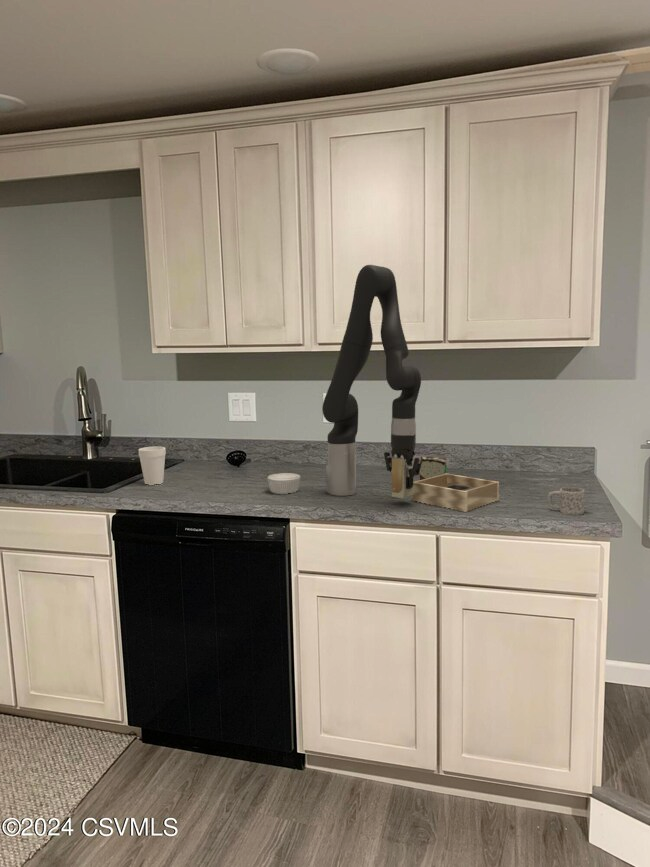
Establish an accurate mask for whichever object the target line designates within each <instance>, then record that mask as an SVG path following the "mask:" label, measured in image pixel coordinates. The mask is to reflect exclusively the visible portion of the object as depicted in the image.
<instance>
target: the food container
mask: <svg viewBox="0 0 650 867" xmlns="http://www.w3.org/2000/svg"><path fill="white" fill-rule="evenodd" d="M417 456H418V457H422V458H423V460H422V464H421V468H420V472H419V475H418V481H419V480H423V479H427V478H431V477H435V476H438V475H442V474H446V473H447V474H448V472H447V470H448V466H449V465H450V461H449V458H448V457H447V456H443V455H436V454H434V455H433V454H426V455H425V454H424V455H417Z"/></svg>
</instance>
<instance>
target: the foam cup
mask: <svg viewBox="0 0 650 867" xmlns="http://www.w3.org/2000/svg"><path fill="white" fill-rule="evenodd" d="M166 455H167V451H166V447H164V446H155V445H154V446H145V447H140V448H138V457H139V461H140V466H141V471H142V476H143V481H144V485H145V484H149V485H154V484H161V483H164V475H165V465H166V464H165V461H166ZM161 485H162V484H161Z"/></svg>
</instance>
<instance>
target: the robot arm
mask: <svg viewBox="0 0 650 867" xmlns="http://www.w3.org/2000/svg"><path fill="white" fill-rule="evenodd" d="M352 297H353V298H352V302H351V307H350V312H349V317H348V321H347V325H346V329H345V331H344V335H343V339H342V343H341V345H340V349H339V354H338V357H337V361H336V363H335V364H336V365H335V368H334V372H333V375H332V378H331V382H330V383H329V386H328V389H327V392H326V394H325V397H324V399H323V403H322V407H321V408H322V410H321V412H322V415H323V417H324V419H325V420H326V421H327V422H328V423H330V424H331V423H332V424H333V427H332V429H331V430H330V431H329V433H327V463H326V465H325V471H326V472H325V475H326V476H325V478H326V479H325V480H326V481H325V482H326V493H328V494H329V495H331V496H335V497H336V496H337V497H343V496H345V497H346V496H352V495H355V494H356V493H357V465H356V464H357V457H356V454H357V452H356V449H357V448H356V438H357V437H356V436H357V434H358V431H359V430H358V429H359V404H358V402H357V399H356V397H355V396H354V395H353V394H351V393H350V391H351V388H352V385H353V383H354V382H355V380H356V378H357V377H358V375H359V374H360V373H361V371H362V369H363V368H364V366H365V365H366V364H367V362H368V358H369V355H370V352H371V349H372V346H373V345H372V344H373V340H374V339H373V338H374V336H373V328H372V323H371V312H372V307H373V303H374V299H375V298H377V299H378V301H379V305H380V307H381V314H382V315H381V316H382V318H381V325H380V339H381V343H382V348H383V352H384V356H385V376H386V378H385V379H386V382H387V385H389V387H390V389H392V390H393V391H400V395H399V396H398V397H396V398H394V399H393V400H392V403H391V423H390V447H391V450H390V451H385V452H383V455H384V456H383V457H384V461H385V467H386V471H388V472H391V474H392V458H401V459H406V462H405V470H406V475H407V477H406V489H411V488H412V487H413V482H414V481H413V477H415V476H419V472H420V468H421V464H422V460H423V458H422V457H418V456H419V455H416V452H415V448H416V442H417V441H416V439H417V438H416V436H417V435H416V434H417V432H416V431H417V424H416V423H417V422H416V404H417V402H418V397H419V393H420V391H421V390H420V388H421V384H422V375H421V373H420V371H419V369H418V368H417V367H416V366H410V365H409V366H407V365H406V366H403V360H405V359H407V358H408V356H409V354H410V352H409V348H408V344H407V340H406V337H405V334H404V330H403V326H402V325H403V324H402V320H401V315H400V306H399V299H398V289H397V282H396V276H395V274H394V272H393V271H392V270H391V269H390V268H388V267H385V266H379V265H374V264H366V265H364V266H362V268H361V269H360V270H359V272H358V275H357V276H356V281H355V285H354V291H353V296H352ZM413 460H414V461H413ZM413 462H414V464H413ZM407 465H410V466H409V467H408V466H407ZM409 469H410V471H409Z"/></svg>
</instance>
